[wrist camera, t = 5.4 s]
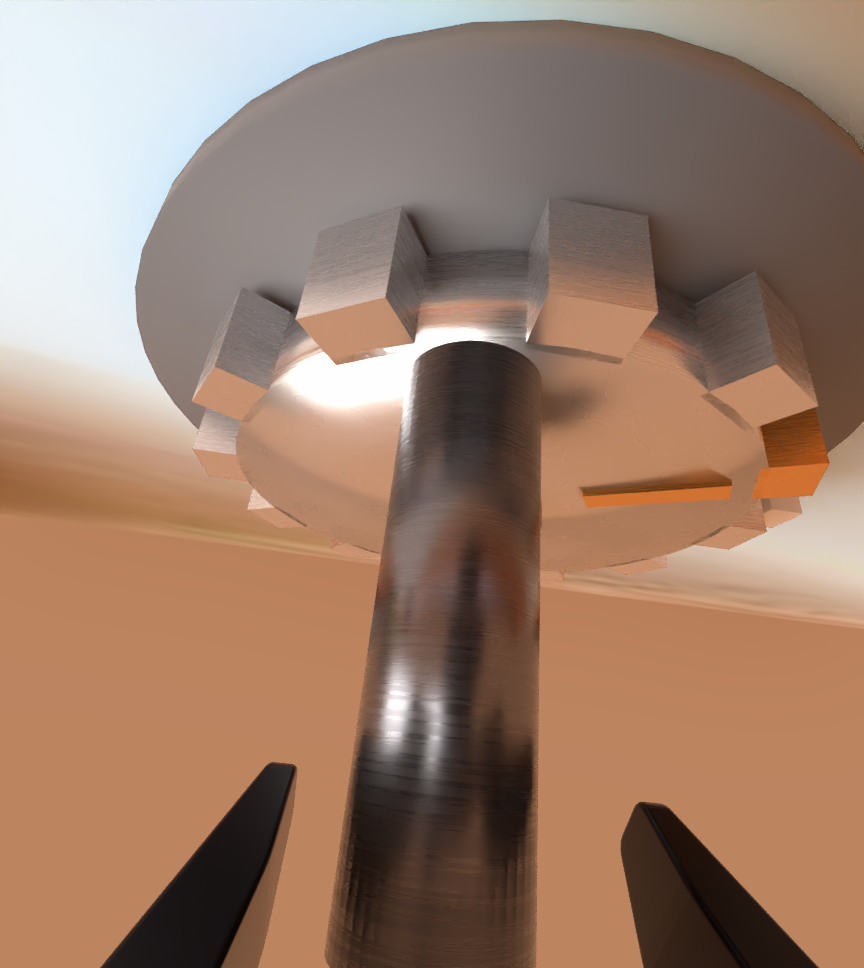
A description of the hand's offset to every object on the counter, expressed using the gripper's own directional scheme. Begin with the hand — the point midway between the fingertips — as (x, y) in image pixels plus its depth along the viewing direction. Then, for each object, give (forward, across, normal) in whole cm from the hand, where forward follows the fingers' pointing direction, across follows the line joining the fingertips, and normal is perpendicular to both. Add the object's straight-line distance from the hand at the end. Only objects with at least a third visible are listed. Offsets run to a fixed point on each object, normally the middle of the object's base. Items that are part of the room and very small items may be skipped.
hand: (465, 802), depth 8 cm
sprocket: (+9, -1, -3) cm, 9 cm away
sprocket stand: (+10, -1, -4) cm, 10 cm away
